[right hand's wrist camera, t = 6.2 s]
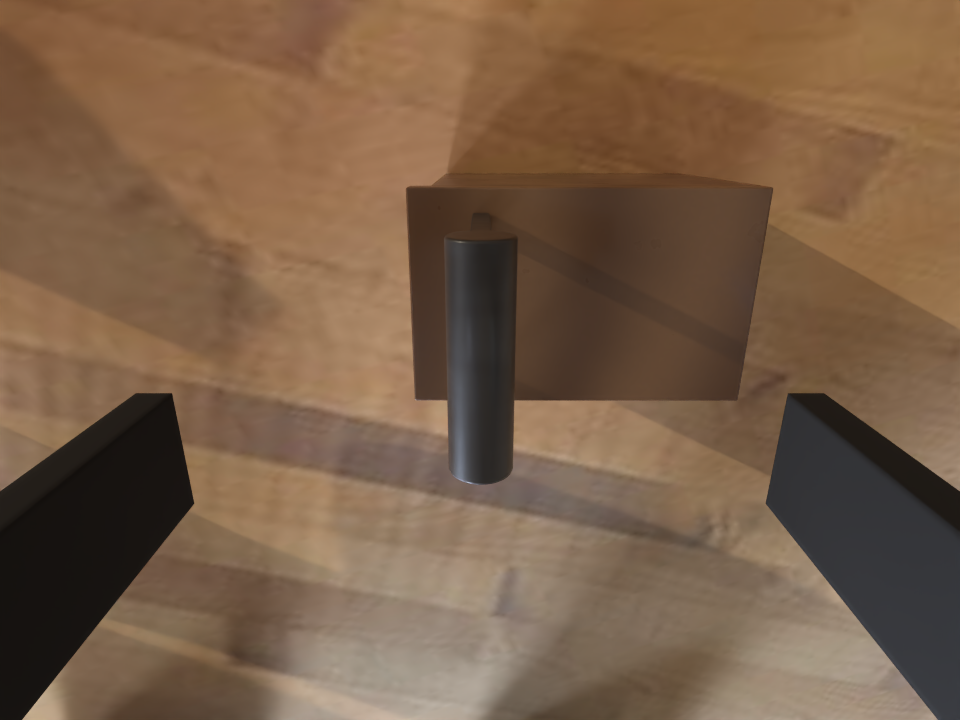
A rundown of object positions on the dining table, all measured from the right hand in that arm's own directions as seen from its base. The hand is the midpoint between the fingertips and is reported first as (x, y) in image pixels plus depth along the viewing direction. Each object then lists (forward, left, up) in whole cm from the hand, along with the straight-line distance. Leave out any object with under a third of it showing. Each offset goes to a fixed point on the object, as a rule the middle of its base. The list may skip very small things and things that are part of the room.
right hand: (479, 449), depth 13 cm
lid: (+2, -4, -14) cm, 14 cm away
